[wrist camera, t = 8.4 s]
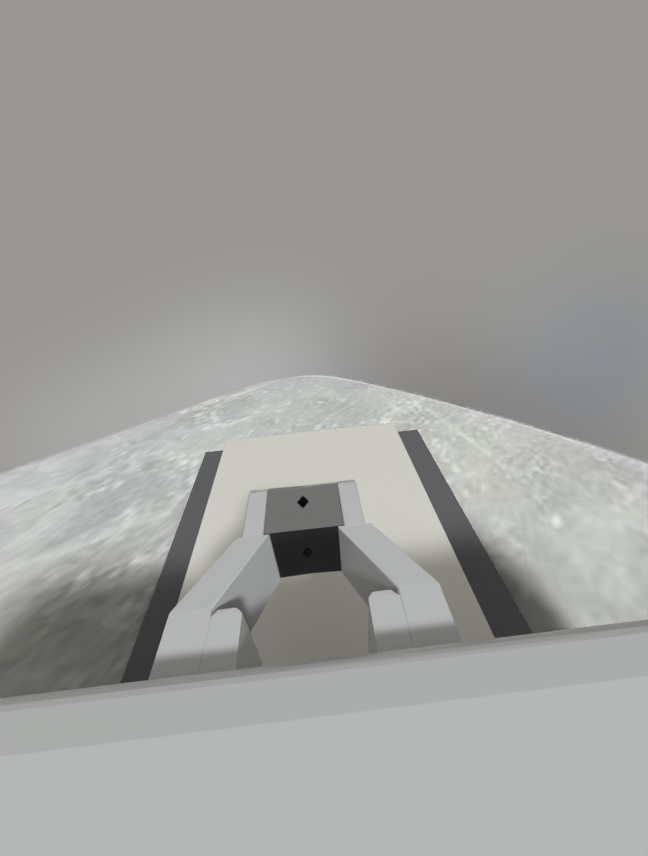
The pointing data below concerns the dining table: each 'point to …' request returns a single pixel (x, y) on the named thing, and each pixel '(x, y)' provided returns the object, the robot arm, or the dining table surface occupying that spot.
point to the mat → (450, 514)
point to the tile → (330, 591)
